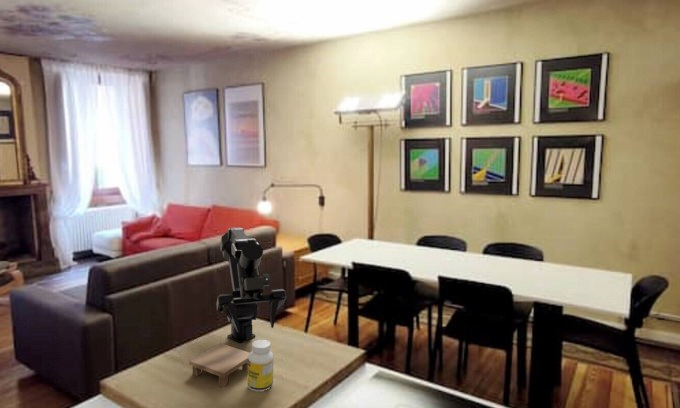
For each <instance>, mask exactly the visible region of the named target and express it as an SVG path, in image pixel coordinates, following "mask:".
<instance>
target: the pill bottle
mask: <svg viewBox="0 0 680 408" xmlns="http://www.w3.org/2000/svg"><path fill="white" fill-rule="evenodd" d="M271 345H272V344H271V342H270V340H266V339H257V340H254V341H253V342H252V343H251V351H250V352H249V355H248V370H247V386H248V389H250V390H251V391H253V390H254V391H253V392H258V391H260V392H264V391H263V390H266V389H268V390H269V389H271V388H272V387H273V383H274V362H275V361H274V360H275V359H274V357H275V356H274V353H273V352H272V350H271ZM270 387H271V388H270ZM266 391H267V390H266Z"/></svg>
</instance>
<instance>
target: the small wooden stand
mask: <svg viewBox="0 0 680 408" xmlns="http://www.w3.org/2000/svg"><path fill="white" fill-rule="evenodd" d="M249 353H250V352H249V351H246V350H242V349H239V348H236V347H233V346H231V345H227V344H224V343H221V342H220V343H219V344H217V345H215V346H213V347H211V348H209V349H208V350H205V351H204V352H203V353H201V354H199V355H197V356H195V357H194V358H191V359H189V360H188V366H191V367H192V375H193V376H196V377H198V376H199V375H201V374H202V371H205V372H208V373H210V374H211V375H215V376H218V385H220V386H222V387H224V386H227V385H228V383H229V375H230V374H232V373H233V372H235V371H237V370H239V368H241V369H242V370H245V371H248V355H249Z"/></svg>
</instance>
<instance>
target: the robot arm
mask: <svg viewBox="0 0 680 408" xmlns="http://www.w3.org/2000/svg"><path fill="white" fill-rule="evenodd" d="M219 243H220V244H219V249H220V252H221V253H222V257H223V259H224V260H226V261H227V263H228V266H229V272H230V279H231V286H232V293H223V294H219V295H218V296H217V300H216V312H218V313H221V314H222V315H226V316H227V320H228V323H230V324H231V326H230V328H231V331H230V334H227V336H226V337H227V338H228V339H230V340H233V341H235V342H237V343H239V344H241V343H245V342H246V341H249V340H250V339H253V338H255V337H256V334H254V333H253V321H256V320H257V318H258V311H259V305H258V303H259V304H261V303H269V307H268V311H269V321H270V322H269V323H270V328H271V329H273V328H274V326H275V322H276V321H275V320H276V314H277V309H280V308H281V306H284V305H285V303H286V300H287V298H288V296H287V291H286V290H285V289H284V288H280V289H278V288H277V289H271V291H270V293H269V294H263V293H264V290H265V287H270V286H271V284H272V283H271V276H270V273H263V274H262V275H261V276H260V274H259V269H258V267H260V264H261V260H262V257H263V255H264V254H263V253H264V249H263V247H262V246H261V244H259V242H258V241H257V240H256V238H254V237H248V236H247V235H246V233H245V229H244V228H242V227H229V228H228V229H227V232H225V234H223V235H221V238H220V242H219Z"/></svg>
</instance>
